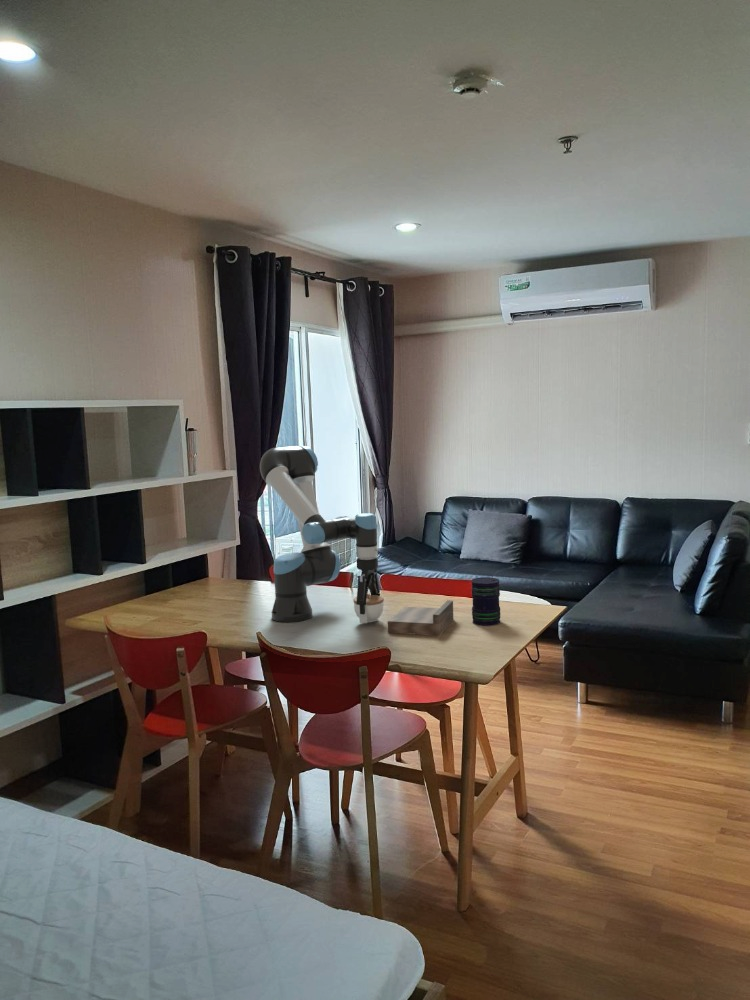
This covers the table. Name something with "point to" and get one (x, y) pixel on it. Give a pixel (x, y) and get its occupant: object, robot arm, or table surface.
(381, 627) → the table surface
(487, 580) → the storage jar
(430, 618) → the riser block
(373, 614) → the lidded jar
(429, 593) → the table surface
